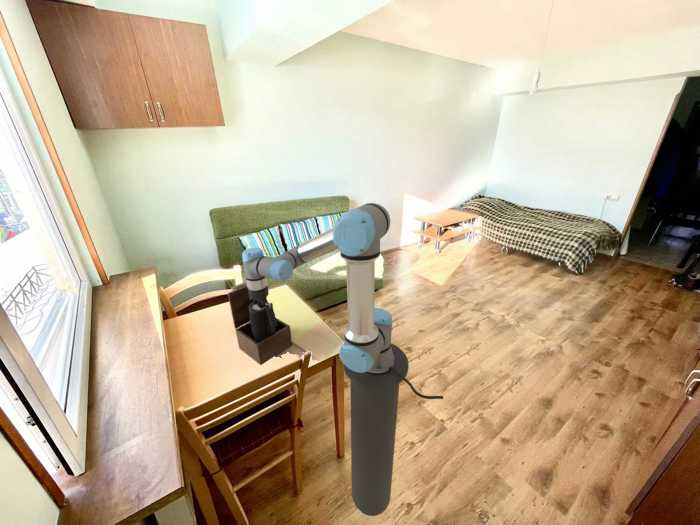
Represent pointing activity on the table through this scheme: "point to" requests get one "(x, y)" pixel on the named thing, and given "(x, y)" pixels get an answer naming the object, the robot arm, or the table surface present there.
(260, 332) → the portable speaker
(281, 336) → the chest
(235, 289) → the lid
